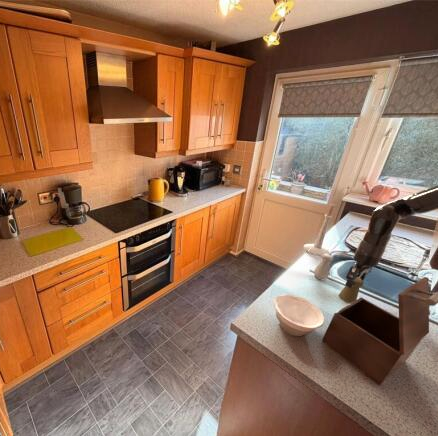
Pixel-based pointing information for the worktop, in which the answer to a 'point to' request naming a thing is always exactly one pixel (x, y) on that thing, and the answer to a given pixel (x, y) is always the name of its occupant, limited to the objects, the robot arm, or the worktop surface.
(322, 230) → the candlestick
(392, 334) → the chest
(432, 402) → the worktop surface
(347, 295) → the cork
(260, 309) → the worktop surface
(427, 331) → the lid
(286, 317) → the bowl
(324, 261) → the salt shaker
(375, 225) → the robot arm
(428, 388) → the worktop surface
